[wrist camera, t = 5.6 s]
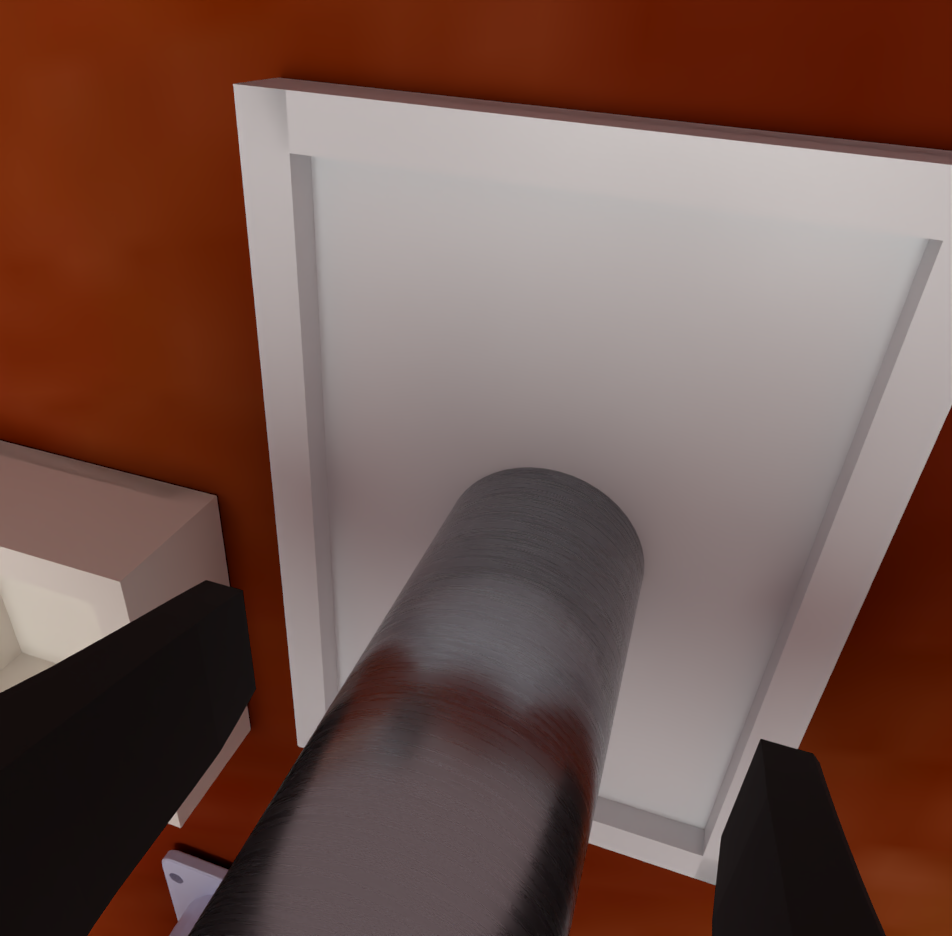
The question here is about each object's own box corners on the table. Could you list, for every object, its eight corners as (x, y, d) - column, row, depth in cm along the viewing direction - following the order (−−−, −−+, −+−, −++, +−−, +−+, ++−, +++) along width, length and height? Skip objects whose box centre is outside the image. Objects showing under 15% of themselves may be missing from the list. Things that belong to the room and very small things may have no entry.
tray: (735, 839, 17) (734, 891, 16) (321, 707, 19) (297, 746, 18) (1022, 158, 9) (1053, 176, 8) (279, 77, 11) (233, 83, 10)
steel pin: (604, 660, 14) (441, 1343, 7) (429, 587, 15) (103, 1155, 7) (676, 515, 12) (552, 1267, 5) (471, 437, 13) (79, 1015, 5)
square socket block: (250, 729, 20) (180, 828, 18) (20, 652, 22) (-73, 733, 20) (216, 496, 16) (119, 581, 14) (-63, 424, 18) (-193, 489, 16)
